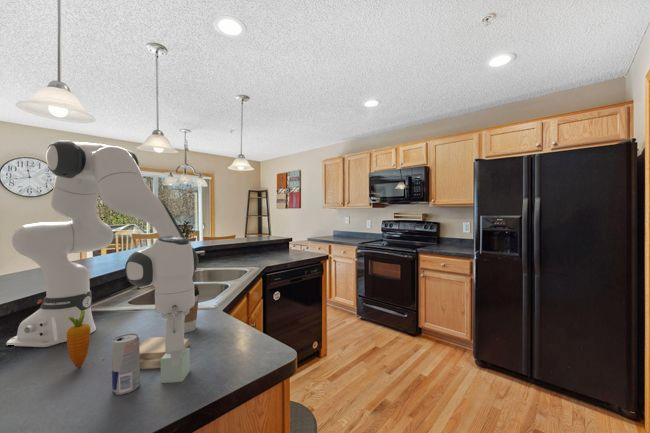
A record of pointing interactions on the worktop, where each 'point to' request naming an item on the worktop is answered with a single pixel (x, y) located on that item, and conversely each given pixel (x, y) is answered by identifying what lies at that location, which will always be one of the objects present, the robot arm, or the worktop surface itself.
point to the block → (175, 367)
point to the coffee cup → (192, 314)
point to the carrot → (78, 340)
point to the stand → (154, 352)
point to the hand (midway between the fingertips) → (176, 355)
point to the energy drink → (125, 364)
